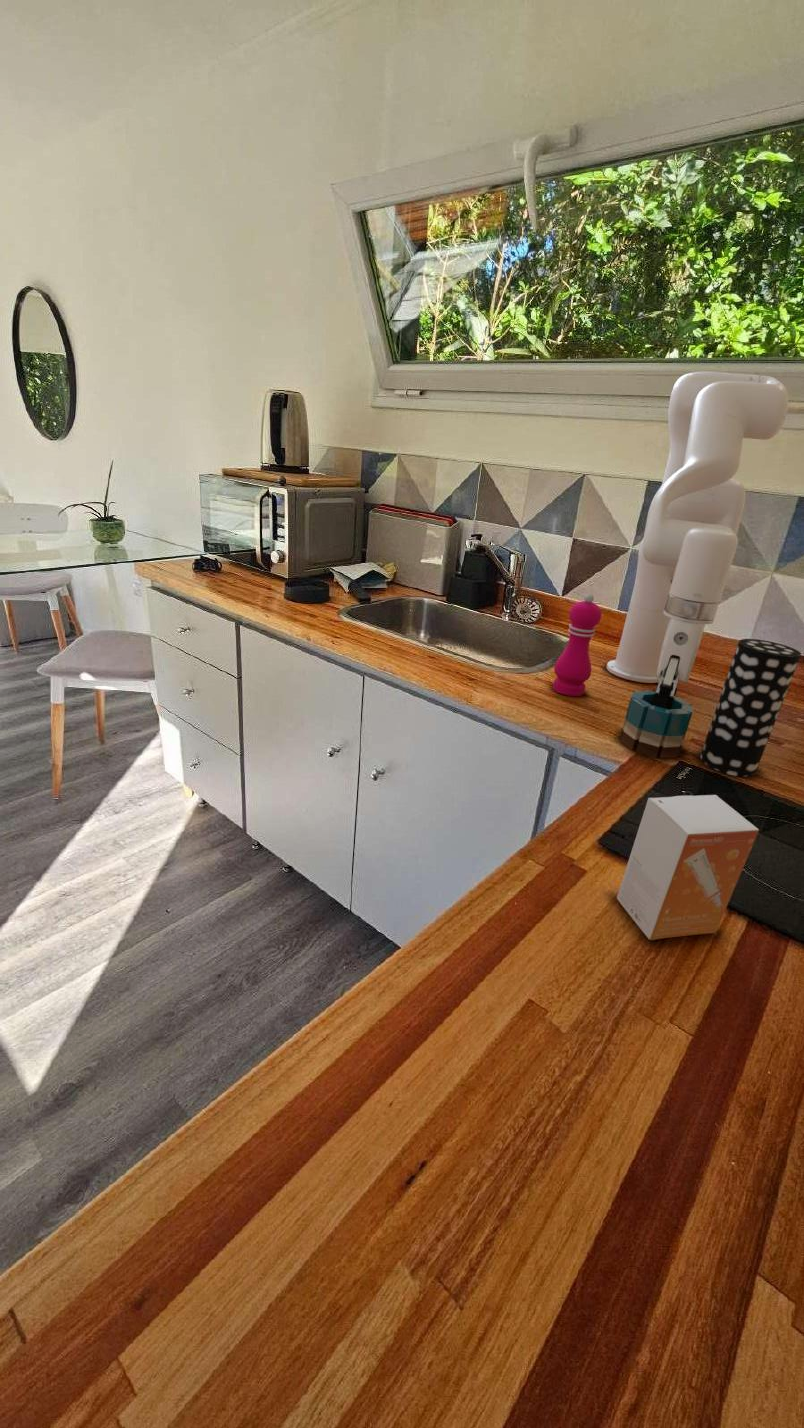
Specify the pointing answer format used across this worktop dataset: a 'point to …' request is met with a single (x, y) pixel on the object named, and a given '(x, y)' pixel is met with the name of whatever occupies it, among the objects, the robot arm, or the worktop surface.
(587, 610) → the pepper mill
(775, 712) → the spotted tube
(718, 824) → the small box
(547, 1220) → the worktop surface
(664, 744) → the ring stack
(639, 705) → the teal ring
